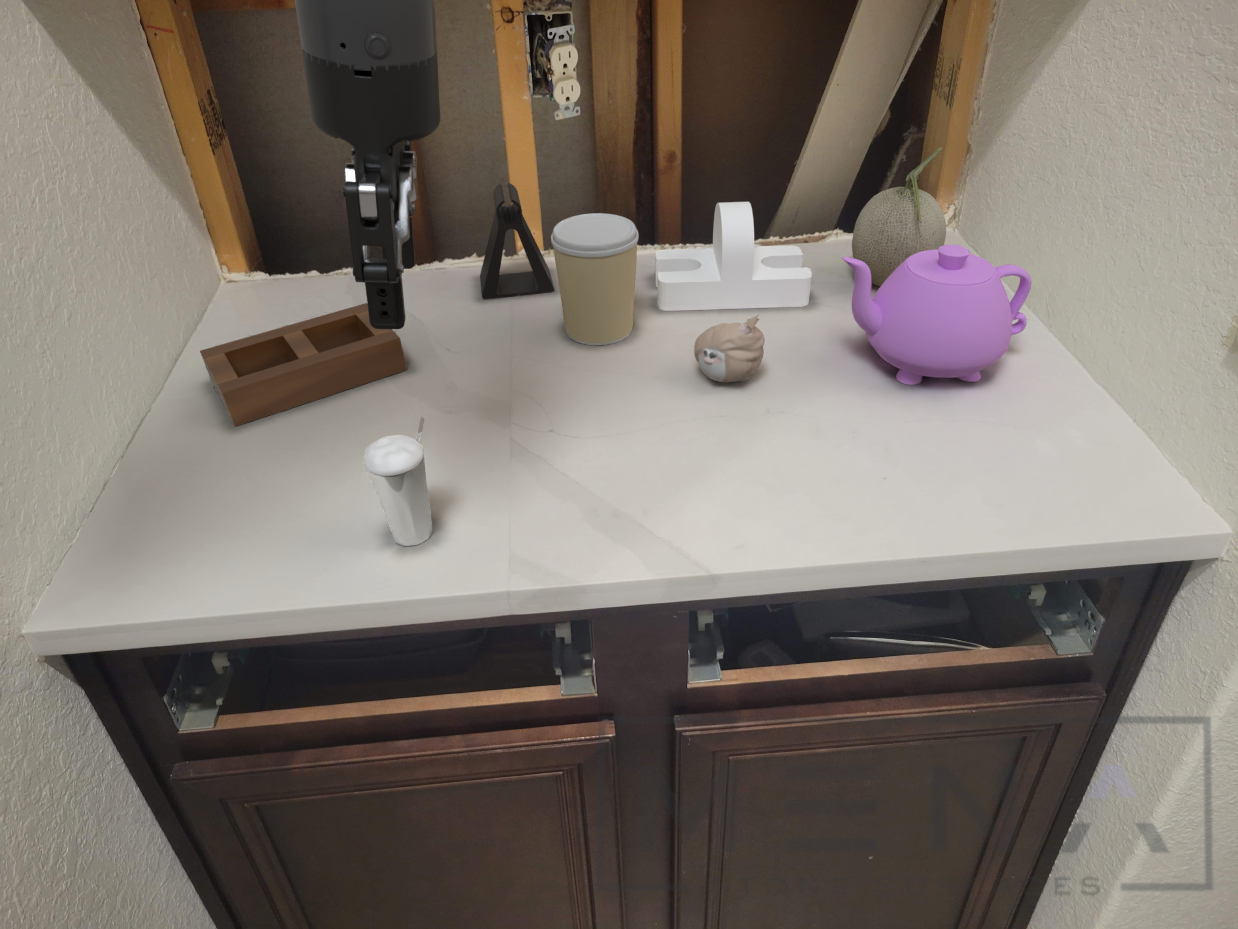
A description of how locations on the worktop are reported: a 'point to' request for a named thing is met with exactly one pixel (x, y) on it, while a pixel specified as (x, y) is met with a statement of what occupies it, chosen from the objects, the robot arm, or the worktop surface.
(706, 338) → the beige round figure
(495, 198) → the phone stand
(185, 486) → the worktop surface
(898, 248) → the fruit
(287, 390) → the tray
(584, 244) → the coffee cup
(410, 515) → the milkshake
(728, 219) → the white slotted holder
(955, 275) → the teapot
